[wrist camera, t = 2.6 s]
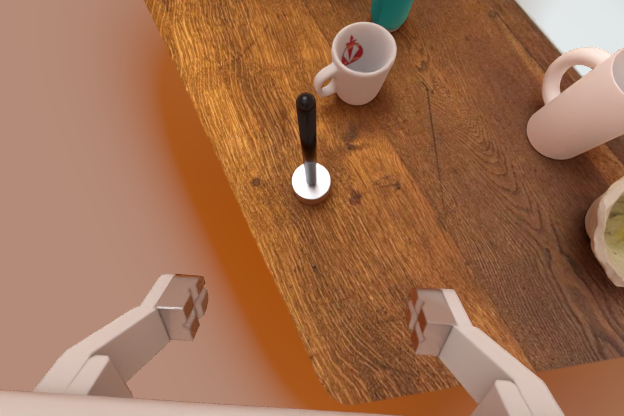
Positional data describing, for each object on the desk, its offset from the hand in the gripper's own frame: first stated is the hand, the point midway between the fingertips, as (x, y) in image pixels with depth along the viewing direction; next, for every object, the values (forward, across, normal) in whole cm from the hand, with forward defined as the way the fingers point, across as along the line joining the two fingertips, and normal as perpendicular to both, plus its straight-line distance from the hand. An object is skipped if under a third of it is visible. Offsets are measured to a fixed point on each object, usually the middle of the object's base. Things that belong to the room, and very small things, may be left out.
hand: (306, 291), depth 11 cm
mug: (+35, -32, +2) cm, 48 cm away
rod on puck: (+27, +1, +10) cm, 29 cm away
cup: (+38, -4, -1) cm, 38 cm away
